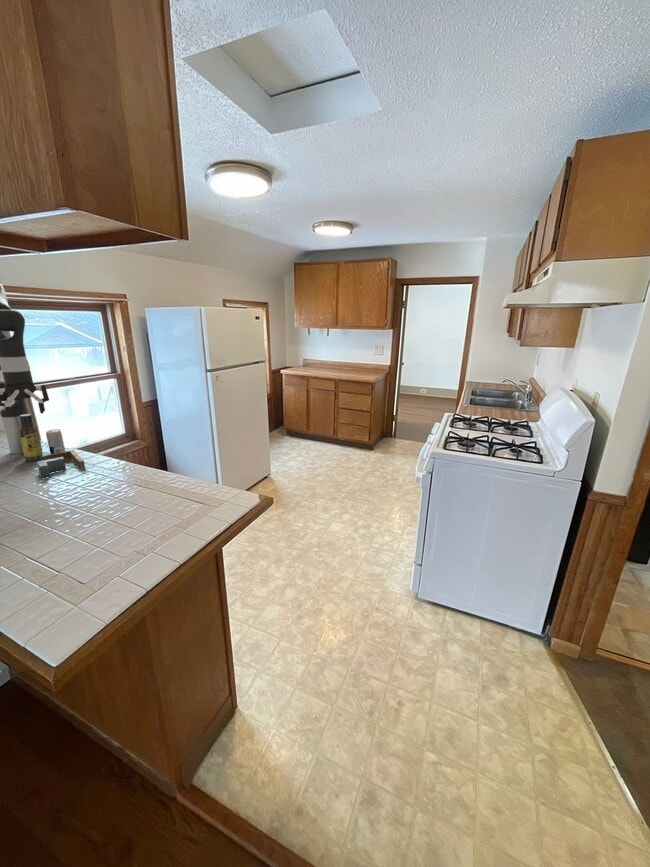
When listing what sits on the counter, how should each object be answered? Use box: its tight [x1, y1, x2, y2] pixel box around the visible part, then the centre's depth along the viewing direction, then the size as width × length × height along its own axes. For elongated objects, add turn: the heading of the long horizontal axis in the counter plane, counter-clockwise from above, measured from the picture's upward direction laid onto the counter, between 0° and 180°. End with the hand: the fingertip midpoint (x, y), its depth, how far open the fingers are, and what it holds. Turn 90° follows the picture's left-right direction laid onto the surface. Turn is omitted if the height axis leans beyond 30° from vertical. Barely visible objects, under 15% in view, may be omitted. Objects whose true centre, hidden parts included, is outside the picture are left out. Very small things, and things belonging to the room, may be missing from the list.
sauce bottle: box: [19, 413, 44, 462], centre depth 148 cm, size 6×6×20 cm
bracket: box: [36, 457, 67, 479], centre depth 136 cm, size 7×8×5 cm
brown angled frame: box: [41, 449, 86, 472], centre depth 142 cm, size 18×11×4 cm, turn 46°
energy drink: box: [45, 429, 66, 454], centre depth 152 cm, size 5×5×12 cm
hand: (27, 414), depth 125 cm, fingers open, 8 cm apart
